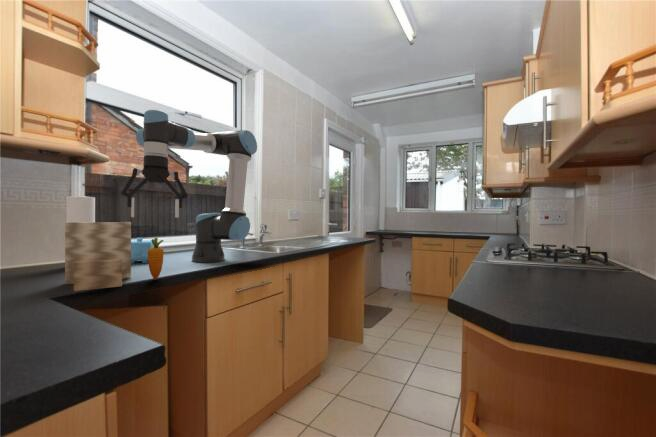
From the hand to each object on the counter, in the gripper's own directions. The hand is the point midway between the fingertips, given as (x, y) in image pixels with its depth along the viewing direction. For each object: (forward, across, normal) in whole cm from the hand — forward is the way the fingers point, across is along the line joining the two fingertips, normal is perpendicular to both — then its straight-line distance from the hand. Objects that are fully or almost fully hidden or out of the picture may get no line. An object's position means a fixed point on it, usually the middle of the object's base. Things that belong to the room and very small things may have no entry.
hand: (155, 217), depth 109 cm
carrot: (+22, 0, 0) cm, 22 cm away
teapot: (+22, +2, -46) cm, 51 cm away
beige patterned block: (+22, +16, -2) cm, 27 cm away
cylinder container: (+22, +23, -44) cm, 54 cm away
